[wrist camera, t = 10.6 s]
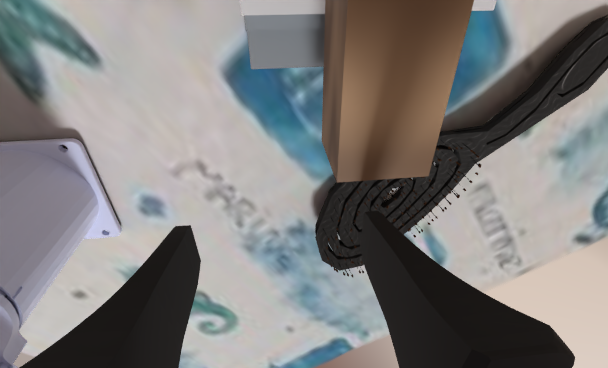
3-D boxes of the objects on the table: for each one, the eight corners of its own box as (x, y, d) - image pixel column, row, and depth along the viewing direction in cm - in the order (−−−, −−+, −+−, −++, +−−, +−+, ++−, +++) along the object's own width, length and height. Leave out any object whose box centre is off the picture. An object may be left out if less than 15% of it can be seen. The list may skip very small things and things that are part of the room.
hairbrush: (678, 77, 19) (362, 295, 25) (617, 66, 22) (350, 263, 28) (661, -48, 15) (293, 248, 21) (590, -40, 18) (288, 216, 25)
